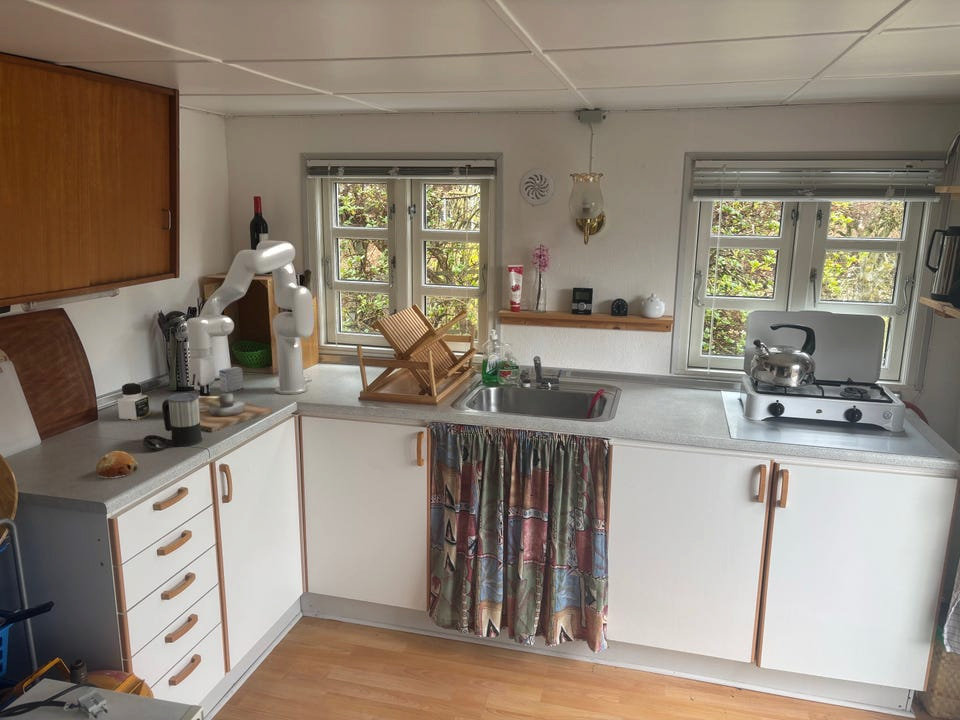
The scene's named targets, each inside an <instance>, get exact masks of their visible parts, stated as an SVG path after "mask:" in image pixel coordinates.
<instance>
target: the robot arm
mask: <svg viewBox="0 0 960 720" xmlns="http://www.w3.org/2000/svg"><path fill="white" fill-rule="evenodd" d="M295 257H296V249H295V247H294V245H293V244H292V243H290V242H288V241H286V240H285V241H284V240H272V239H271V240H262V241H260V242H259V243H258V244H257V245H256V249H243V250H240V251H239V252H237V254H236V255H235V257H234V259H233V261H232V263H231V266H230V267H229V270H228V271H227V272H228V273H227V274H226V276H225V279H224V280H223V283H222V285H220V287H218V288H217V289H216V290H215V291H214V293H212V294H211V296H210V297H208V299H207V300H206V301H205V302H204V305H203V307H202V308H201V311H200V314H199V316H198V317H191V318H188V320H186V331H187V343H188V351H189V353H188V354H189V361H188V379H189V381H188V382H189V385H190V386H192V387H194V388H193V389H194V391H197V393H198V395H199V396H211V386H212V385H213V384H214V381H215V379H216V368H215V362H214V358H213V347H212V337H226V336H228V335H230V334H231V333H232V332H233V331H234V328H235V323H234V321H233V319H232V318H230V317H229V316H227V315H223V314H222V313H223V311H224V309H225V308H226V307H228V306H229V305H230V304H232V303H233V302H235V301H238V300H240V299H241V298H243V297H244V296H245V295H246V293H247V291H248V289H249V288H250V285H251V283H252V280H253V278H254V277H255V274H260V275H263V274H267V273H270V272H271V273H272V279H273V291H274V292H273V293H274V302H275V304H276V306H277V307H279V308H281V309H285V310H291V311H281V312H279V313H278V314H276V315H275V316H274V318H273V320H272V330H273V334H274V338H275V343H276V355H277V369H278V383H279V386H277V387H275V392H276V394H279V395H296V394H302V393H305V392H307V391H308V390H309V385H307V383H310V382H312V381H313V378H312V377H311V376H309V377H304V366H303V364H304V363H303V347H302V342H301V339H302V340H304V339H308V338H309V337H310V336H312V334H313V332H314V331H315V330H314V329H315V314H314V313H315V312H314V298H313V295H312V292H311V291H310V290H309V289H308V288H307V287H306V286H303V285H298V283H297V277H296V275H297V274H296V270H295V266H294V264H293V262H292V261H294V260H295Z"/></svg>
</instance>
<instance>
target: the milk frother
mask: <svg viewBox="0 0 960 720" xmlns="http://www.w3.org/2000/svg"><path fill="white" fill-rule="evenodd" d="M192 393H193V392H189V393H188V392H185V393H177V394H173V395H170V396H168V397H167V399H165V400H163V402H162V404H161V405H162V406H161V410H162V417H163V422H164V428H165V431H167V432H171V433H170V434H171V439H167V438H165V437H162V436H160V435H154V434H151V435H145V436H144V437H143V440H142V444H143V446H144V447H145V448H146V449H148V450H151V451H161V450H163V449H166V448H167V447H168V442H171V445H172V446H177V447H188V446H194V445H197V444H199V442H200V443H201V442H203V437H202V430H201V428H200V415H199V409H200V406H199V402H198V397H199V396H200V395H199V394H197V393H194V394H192ZM154 440H155V441H154ZM156 440H157V441H156ZM159 441H160V442H161V443H162V444H161V445H159Z"/></svg>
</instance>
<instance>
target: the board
mask: <svg viewBox="0 0 960 720" xmlns="http://www.w3.org/2000/svg"><path fill="white" fill-rule="evenodd" d="M244 403H245V402H244ZM271 413H272V408H271V407H267V406H262V405H261V406H260V405H256V404H250V403H245V411H244V412H242V413H240V414H236V415H230V416H214V415H211V414H210V413H209V406H203V407H201V408H199V415H200V428H201V429H204V430H203V431H206V430H208V431H207V432H210V431H213V432H216V431H219V430H222V429H221V428H223V429H225V428H224V427H226V428H228V427H227V426H229V427H231V426H230V425H232V426H234V425H233V424H235V425H237V424H236V423H238V424H240V423H239V422H241V423H243V422H242V421H244V422H246V421H245V420H247V421H249V420H248V419H250V420H252V418H253V419H256V418H259V417H262V416H265V415H269V414H271ZM258 416H259V417H258ZM255 417H256V418H255ZM218 429H219V430H218ZM215 430H216V431H215Z"/></svg>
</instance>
